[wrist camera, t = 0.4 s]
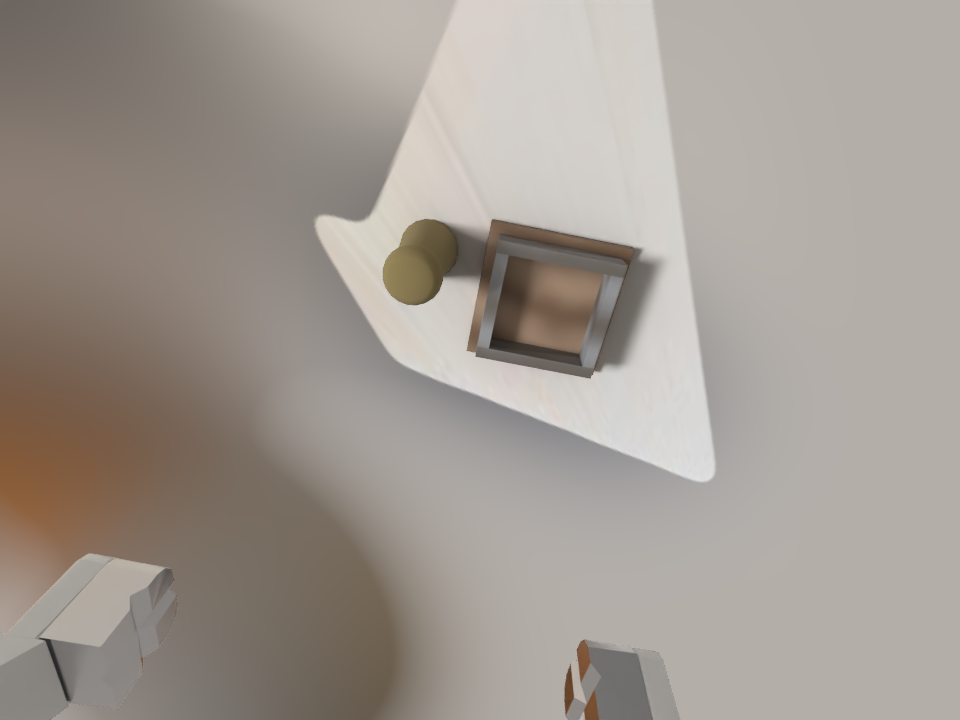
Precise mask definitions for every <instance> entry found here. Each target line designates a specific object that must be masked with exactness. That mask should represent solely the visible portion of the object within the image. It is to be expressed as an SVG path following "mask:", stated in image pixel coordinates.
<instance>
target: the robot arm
mask: <svg viewBox="0 0 960 720" xmlns="http://www.w3.org/2000/svg"><path fill="white" fill-rule="evenodd" d="M173 581H174V577H173V572H172V569H171V568H166V567H160V566H155V565H149V564H144V563H139V562H133V561H128V560H123V559H118V558H113V557H108V556H102V555H96V554H90V553H89V554H87V555H86V556H84V557H83V558H81V559H79V560H77V561H76V562H75V563H74V564H73V565H72V566H71V567H70V568H69V569H68V570H67V571H66V573H65V574H64V575H63V576H62V577H61V578H60V579H59V580H58V581H57V582H56V583H55V584H54V585H53V586H52V587H51V588H50V589H49V590H48V591H47V592H46V593H45V594H44V595H43V596H42V597H41V598H40V599H39V600H38V601H37V602H36V603H35V604H34V605H33V606H32V607H31V608H30V609H29V610H28V611H27V612H26V613H25V614H24V615H23V616H22V617H21V618H20V619H19V620H18V621H17V622H16V623H15V624H14V625H13V626H12V627H11V628H10V629H9V630H8V631H7V632H6V633H1V632H0V720H51V719H52V718H53V717H55V716H56V715H58V714H59V713H60V712H62V711H63V710H64V709H66V708H67V707H68V703H73V704H79V705H87V706H94V707H102V708H110V709H118V708H119V707H120V705H121V704H122V702H123V701H124V699H125V698H126V697H127V695H128V694H129V692H130V690H131V689H132V687H133V686H134V685H135V683H136V682H137V680H138V678H139V677H140V675H141V674H142V673H143V658H144V657H145V656H147V655H148V654H150V653H151V652H153V651H154V650H156V649H157V648H159V647H160V645H161V644H162V642H163V641H164V639H165V638H166V636H167V635H168V633H169V631H170V629H171V626H172V624H173V622H174V619H175V617H176V612H177V606H178V602H177V595H176V594H175V593H174V592H173V591H171V589H170V588H169V587H170V585H171V584H172V583H173ZM577 656H578V660H576V661H574V662H572V663H571V664H570V667H569V669H568V672H567V675H566V682H565V699H564V700H565V701H564V702H565V714H566V717H567V719H568V720H680V718H679V714H678V711H677V707H676V704H675V700H674V697H673V693H672V690H671V686H670V683H669V679H668V676H667V672H666V669H665V665H664V662H663V659H662V657H661V656H660V654H659V653H657V652H655V651H649V650H643V649H636V648H631V647H629V646H623V645H616V644H610V643H603V642H597V641H591V640H583V641H581V642H580V644H579V646H578V648H577Z"/></svg>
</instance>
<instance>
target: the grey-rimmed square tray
mask: <svg viewBox="0 0 960 720" xmlns="http://www.w3.org/2000/svg"><path fill="white" fill-rule="evenodd" d="M633 252H634V249H633V248H632V247H627V246H622V245H617V244H612V243H607V242H602V241H597V240H593V239H588V238H583V237H578V236H573V235H568V234H563V233H558V232H553V231H548V230H543V229H538V228H533V227H528V226H523V225H518V224H513V223H508V222H503V221H498V220H493V219H492V222H491V227H490V232H489V238H488V243H487V248H486V253H485V258H484V264H483V269H482V274H481V279H480V284H479V290H478V295H477V300H476V305H475V311H474V316H473V321H472V326H471V331H470V337H469V342H468V347H467V351H471V352H476V357H481V358H486V359H491V360H497V361H502V362H507V363H512V364H517V365H523V366H528V367H533V368H538V369H543V370H549V371H554V372H559V373H564V374H570V375H575V376H580V377H585V378H591V375H593V372H594V369H595V366H596V363H597V360H598V357H599V354H600V351H601V348H602V345H603V342H604V339H605V336H606V333H607V330H608V327H609V324H610V321H611V318H612V315H613V312H614V309H615V306H616V303H617V300H618V297H619V294H620V291H621V288H622V285H623V282H624V279H625V276H626V273H627V270H628V267H629V264H630V261H631V258H632V255H633Z"/></svg>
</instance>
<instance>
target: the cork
mask: <svg viewBox="0 0 960 720" xmlns="http://www.w3.org/2000/svg"><path fill="white" fill-rule="evenodd" d="M457 256H458V244H457V241H456V237H455V236H454V234H453V233H452V231H451V230H450V229H449V228H448V227H447V226H446V225H444V224H443V223H441V222H438V221H436V220H429V219H424V220H420V221H416V222H415V223H413V224H412V225H410V226H409V227H408V228H407V229H406V231H405V232H404V233H403V236H402V239H401V243H400V246H399V248H397V249H396V250H394V251H393V252H392V253H391V254H390V255H389V257H388V258H387V259H386V261H385V264H384V267H383V281H384V284H385V287H386V289H387V290H388V292H389V293H390V294H391V296H392V297H394V298H395V299H396V300H398V301H399V302H402V303H404V304H407V305H419V304H423V303H426V302H428V301H429V300H431V299H432V298H434V297H435V295H436V294H437V293H438V292H439V290H440V287H441V285H442V282H443V276H444V275H445V274H446V273H447V272H448V271H449V270H450V269H451V268H452V267H453V265H454V264H455V262H456V259H457Z"/></svg>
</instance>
